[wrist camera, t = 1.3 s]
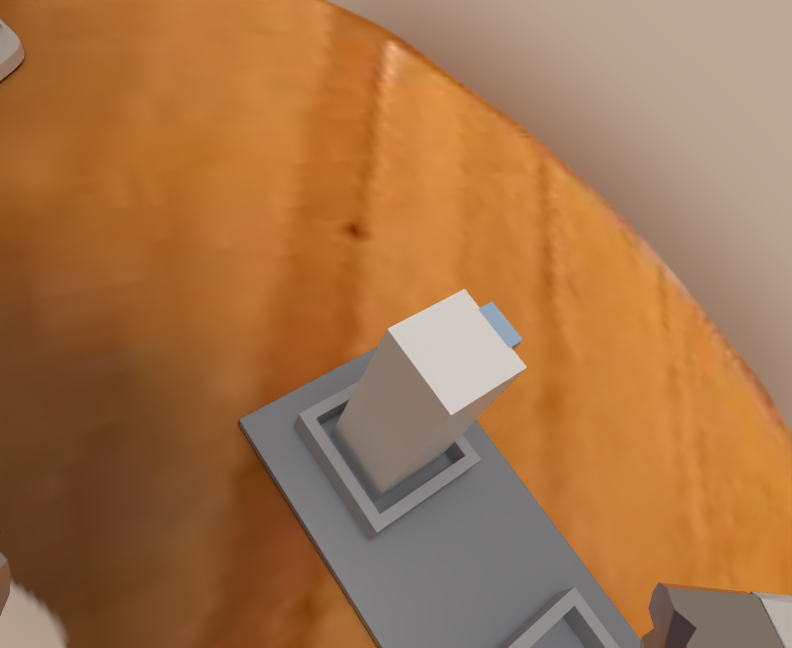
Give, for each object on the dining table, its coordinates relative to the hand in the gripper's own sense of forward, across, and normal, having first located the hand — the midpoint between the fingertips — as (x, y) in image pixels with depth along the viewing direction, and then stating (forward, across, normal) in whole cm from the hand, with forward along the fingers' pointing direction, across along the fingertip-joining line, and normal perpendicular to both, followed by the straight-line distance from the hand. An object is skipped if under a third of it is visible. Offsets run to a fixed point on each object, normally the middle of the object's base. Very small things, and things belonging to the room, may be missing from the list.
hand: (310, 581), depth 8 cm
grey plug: (+23, +2, +13) cm, 27 cm away
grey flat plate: (+20, -2, +18) cm, 27 cm away
